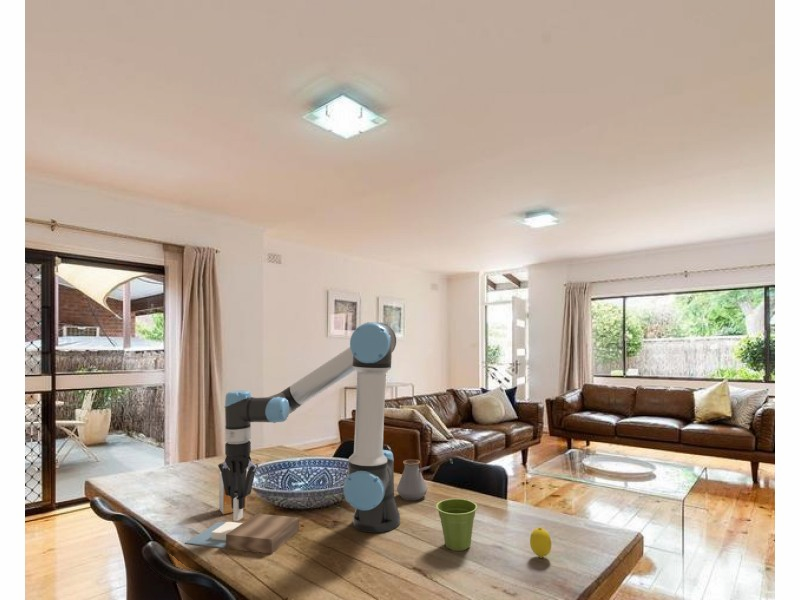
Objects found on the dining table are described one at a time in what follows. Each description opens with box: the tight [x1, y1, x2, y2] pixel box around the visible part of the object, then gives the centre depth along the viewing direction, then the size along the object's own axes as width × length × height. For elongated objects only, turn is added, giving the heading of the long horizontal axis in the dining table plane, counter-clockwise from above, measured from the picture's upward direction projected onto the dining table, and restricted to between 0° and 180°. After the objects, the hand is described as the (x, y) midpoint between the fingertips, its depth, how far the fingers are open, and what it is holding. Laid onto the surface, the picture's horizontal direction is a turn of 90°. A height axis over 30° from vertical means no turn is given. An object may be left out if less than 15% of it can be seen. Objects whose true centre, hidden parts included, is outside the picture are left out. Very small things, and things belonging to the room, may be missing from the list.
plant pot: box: [435, 498, 478, 552], centre depth 137 cm, size 12×12×11 cm
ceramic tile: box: [211, 521, 243, 540], centre depth 147 cm, size 8×8×2 cm
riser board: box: [225, 513, 300, 555], centre depth 144 cm, size 15×16×4 cm
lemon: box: [529, 526, 552, 559], centre depth 129 cm, size 6×6×8 cm
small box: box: [218, 471, 247, 515], centre depth 169 cm, size 8×6×13 cm
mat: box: [184, 521, 227, 549], centre depth 148 cm, size 14×16×1 cm
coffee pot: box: [396, 457, 454, 501], centre depth 177 cm, size 21×12×15 cm, turn 73°
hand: (238, 518), depth 147 cm, fingers closed
